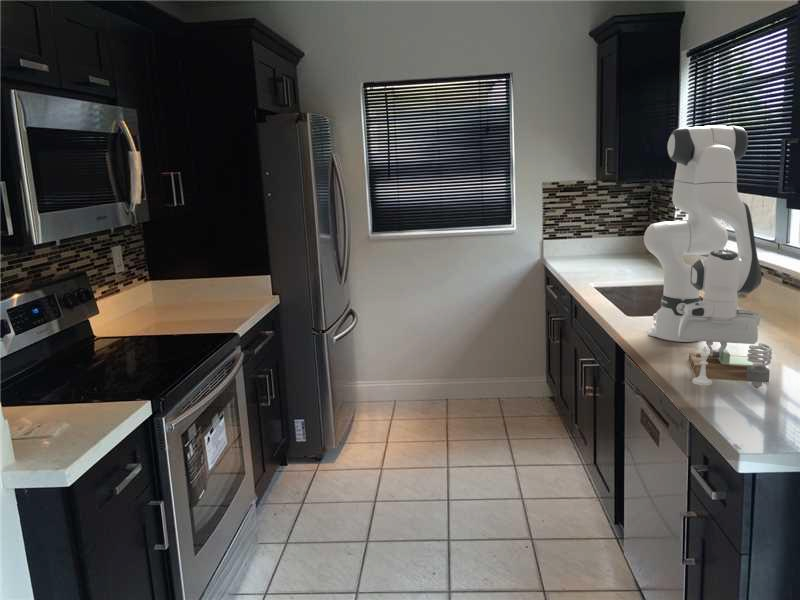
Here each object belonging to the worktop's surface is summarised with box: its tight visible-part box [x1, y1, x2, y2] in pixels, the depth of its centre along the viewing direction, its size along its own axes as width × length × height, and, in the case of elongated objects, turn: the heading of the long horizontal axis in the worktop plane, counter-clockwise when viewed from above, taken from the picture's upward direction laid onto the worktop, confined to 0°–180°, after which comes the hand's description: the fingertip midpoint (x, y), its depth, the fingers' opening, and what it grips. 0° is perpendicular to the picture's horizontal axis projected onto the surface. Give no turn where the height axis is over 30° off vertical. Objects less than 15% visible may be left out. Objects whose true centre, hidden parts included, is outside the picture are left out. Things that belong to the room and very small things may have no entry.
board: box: [688, 352, 771, 384], centre depth 189 cm, size 16×18×3 cm
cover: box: [718, 347, 753, 366], centre depth 188 cm, size 8×8×3 cm
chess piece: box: [691, 346, 713, 387], centre depth 179 cm, size 5×5×10 cm
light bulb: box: [746, 342, 773, 389], centre depth 174 cm, size 6×6×12 cm
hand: (715, 356), depth 189 cm, fingers closed
